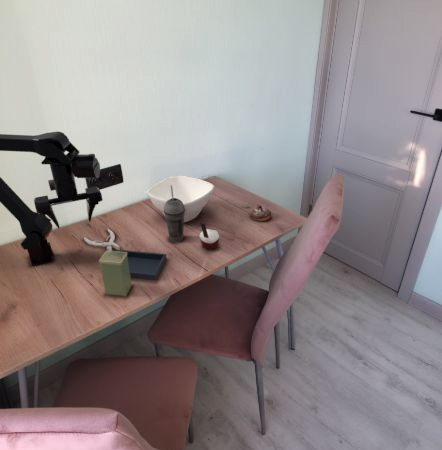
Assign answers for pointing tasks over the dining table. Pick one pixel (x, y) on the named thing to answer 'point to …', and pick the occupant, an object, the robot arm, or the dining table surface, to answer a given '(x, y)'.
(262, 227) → the dining table surface
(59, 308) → the dining table surface
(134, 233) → the dining table surface
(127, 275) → the tea tin
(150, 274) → the tray
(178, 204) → the beverage cup
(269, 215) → the pastry
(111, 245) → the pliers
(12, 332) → the dining table surface
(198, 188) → the bowl
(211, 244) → the cocoa
